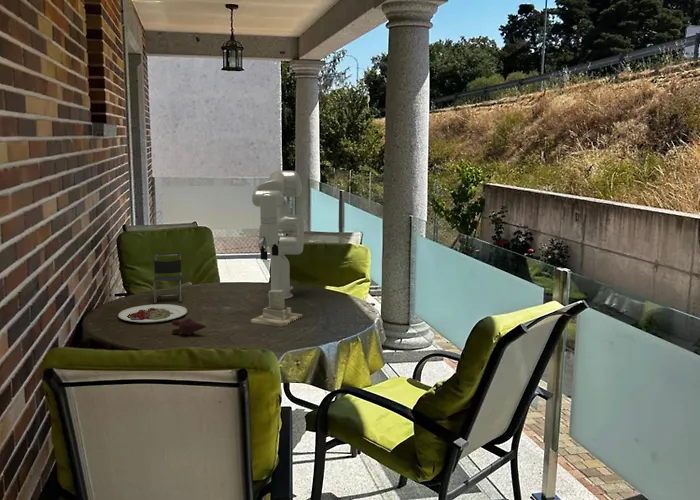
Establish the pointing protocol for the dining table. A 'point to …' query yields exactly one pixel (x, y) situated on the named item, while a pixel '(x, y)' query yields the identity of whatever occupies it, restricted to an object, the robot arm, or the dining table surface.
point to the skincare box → (276, 299)
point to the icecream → (186, 326)
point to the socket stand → (276, 317)
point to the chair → (167, 268)
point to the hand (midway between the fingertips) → (269, 257)
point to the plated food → (153, 313)
